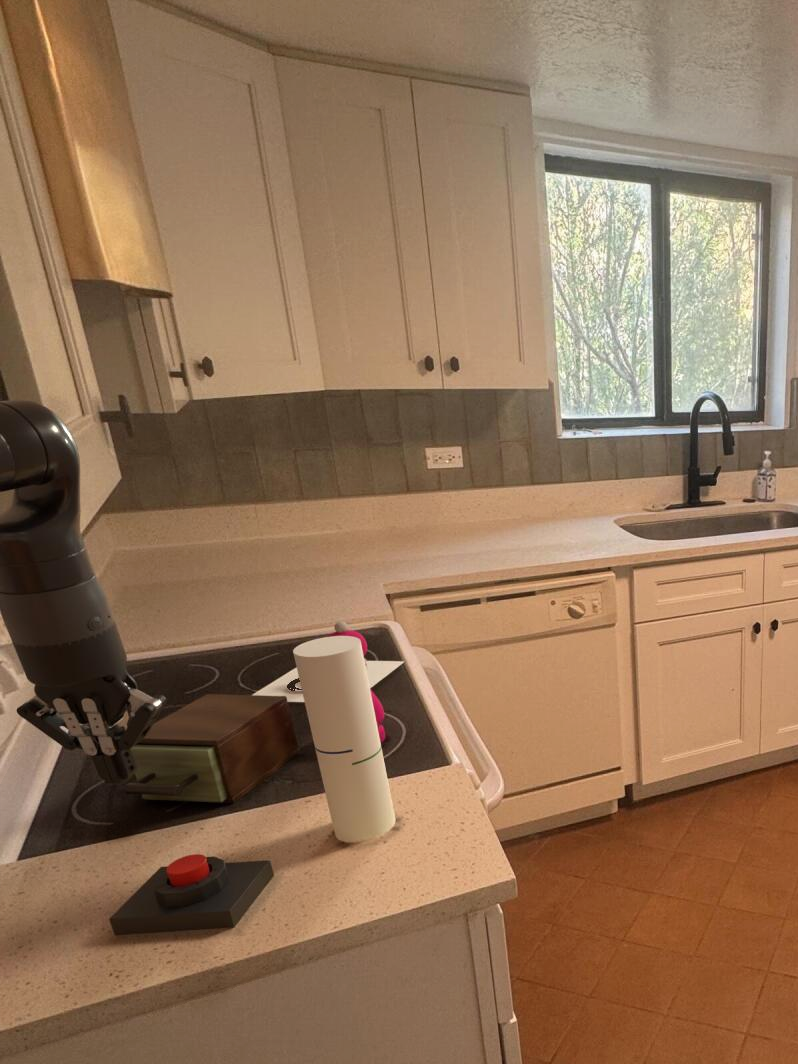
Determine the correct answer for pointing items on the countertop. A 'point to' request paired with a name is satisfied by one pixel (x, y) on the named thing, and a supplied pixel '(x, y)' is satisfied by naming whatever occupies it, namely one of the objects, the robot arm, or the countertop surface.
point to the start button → (188, 870)
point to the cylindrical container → (345, 736)
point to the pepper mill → (378, 708)
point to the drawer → (177, 773)
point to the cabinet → (234, 736)
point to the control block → (193, 899)
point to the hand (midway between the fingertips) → (120, 779)
